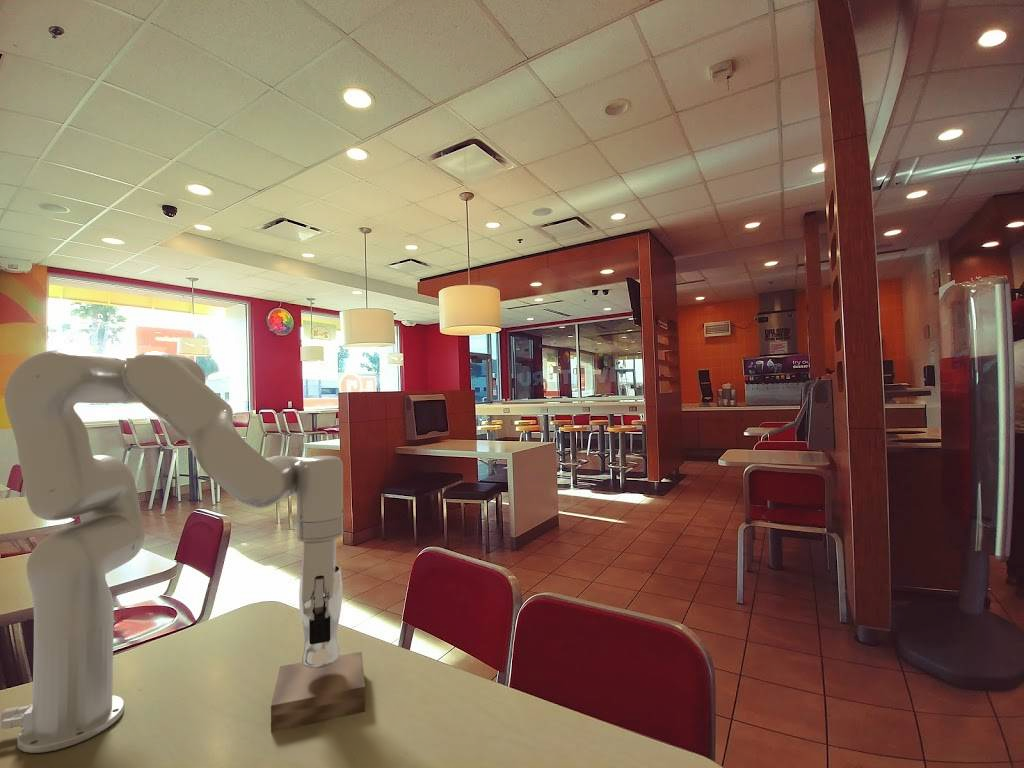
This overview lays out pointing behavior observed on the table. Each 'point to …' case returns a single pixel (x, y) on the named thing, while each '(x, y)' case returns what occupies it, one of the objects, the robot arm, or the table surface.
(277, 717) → the walnut shelf
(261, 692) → the table surface
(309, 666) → the beer glass
